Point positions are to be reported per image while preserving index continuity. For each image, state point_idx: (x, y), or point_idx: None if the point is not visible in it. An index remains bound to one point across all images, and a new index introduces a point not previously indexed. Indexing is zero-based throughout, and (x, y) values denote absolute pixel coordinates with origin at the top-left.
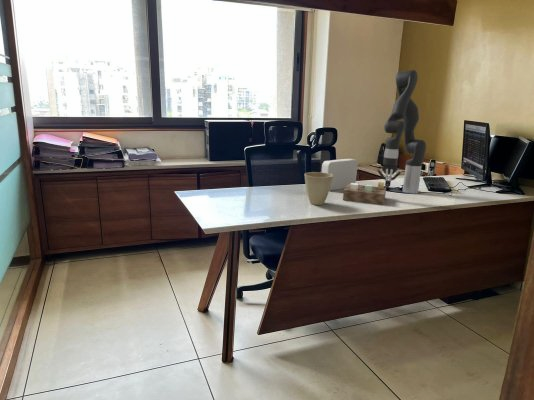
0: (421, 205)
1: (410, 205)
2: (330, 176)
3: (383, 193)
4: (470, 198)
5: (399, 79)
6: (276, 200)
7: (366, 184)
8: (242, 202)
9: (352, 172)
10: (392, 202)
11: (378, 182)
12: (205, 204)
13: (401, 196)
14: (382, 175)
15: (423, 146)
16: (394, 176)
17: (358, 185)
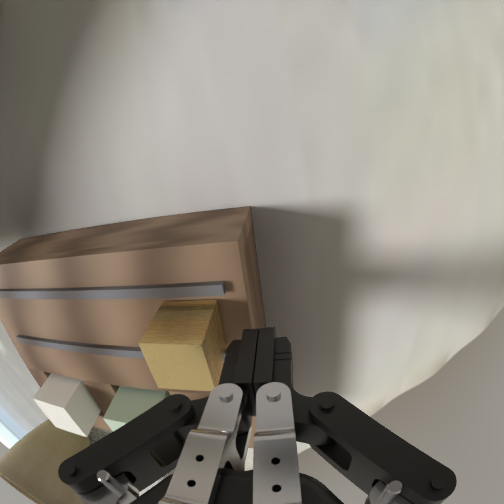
0: (487, 290)
1: (430, 328)
2: (45, 496)
3: None
4: None
5: None
6: (13, 415)
7: (108, 419)
8: (9, 432)
9: None
10: (324, 321)
11: (149, 368)
12: (6, 442)
13: (377, 65)
14: (167, 466)
15: None
16: (340, 472)
17: (26, 296)
